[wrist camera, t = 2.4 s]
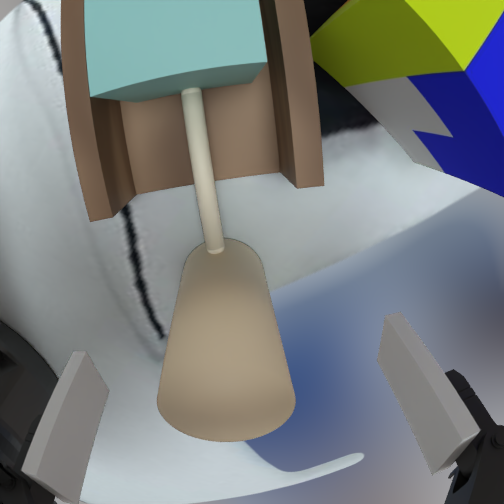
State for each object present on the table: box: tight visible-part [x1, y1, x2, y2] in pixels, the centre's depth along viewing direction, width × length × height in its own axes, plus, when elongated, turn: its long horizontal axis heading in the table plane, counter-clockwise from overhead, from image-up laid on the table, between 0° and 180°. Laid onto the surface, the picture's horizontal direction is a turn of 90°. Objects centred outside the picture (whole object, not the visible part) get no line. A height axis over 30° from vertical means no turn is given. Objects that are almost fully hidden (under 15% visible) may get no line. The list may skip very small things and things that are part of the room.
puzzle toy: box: [310, 0, 504, 197], centre depth 9 cm, size 10×10×10 cm
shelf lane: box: [61, 0, 324, 222], centre depth 12 cm, size 10×13×4 cm
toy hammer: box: [84, 0, 296, 442], centre depth 11 cm, size 6×20×10 cm, turn 7°
